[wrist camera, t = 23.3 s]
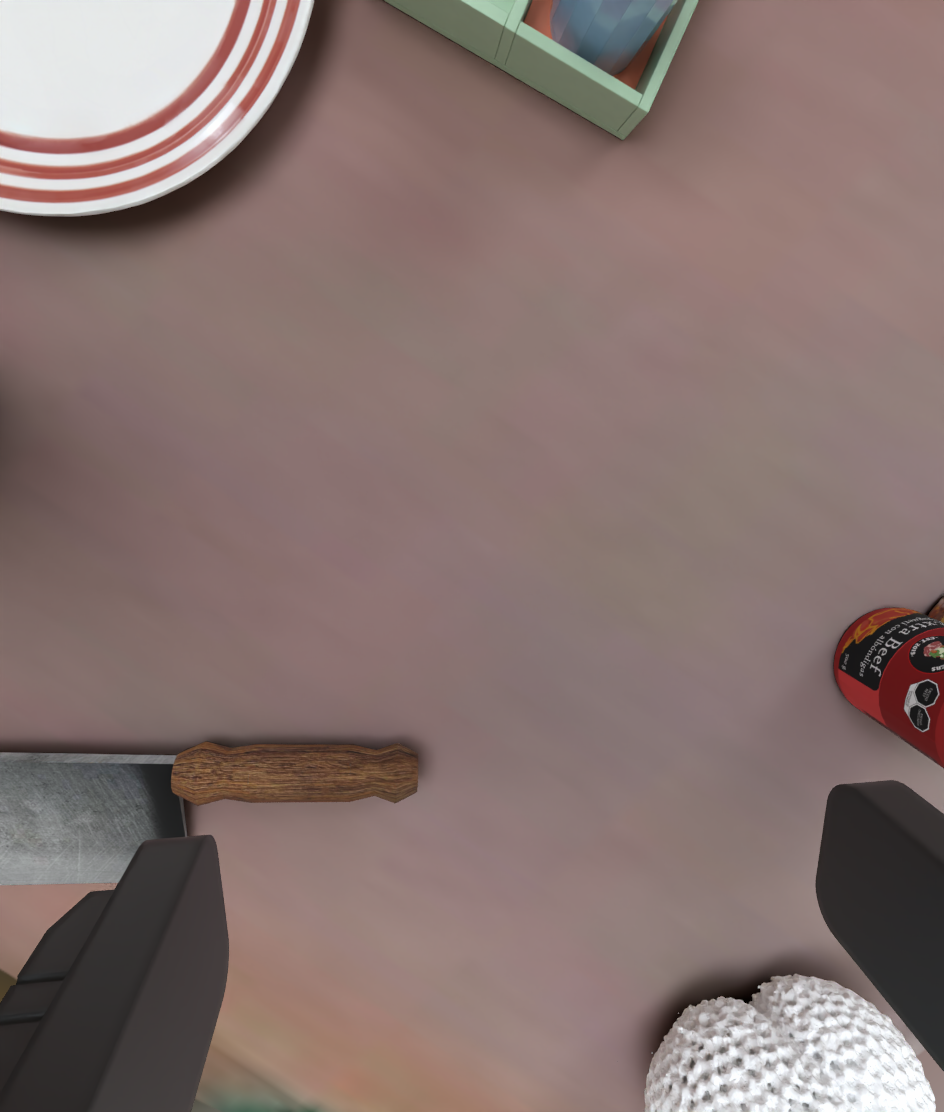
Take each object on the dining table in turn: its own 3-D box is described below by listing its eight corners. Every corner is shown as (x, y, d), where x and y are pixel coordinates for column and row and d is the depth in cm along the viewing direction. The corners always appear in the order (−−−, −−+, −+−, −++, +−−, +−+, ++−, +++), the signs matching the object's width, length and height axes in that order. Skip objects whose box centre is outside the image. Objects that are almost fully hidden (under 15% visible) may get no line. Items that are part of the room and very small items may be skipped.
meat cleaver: (-115, 889, 41) (-166, 941, 38) (-145, 730, 39) (-204, 768, 35) (410, 871, 46) (412, 915, 42) (417, 727, 43) (420, 760, 39)
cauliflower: (689, 1291, 47) (881, 1482, 32) (559, 1050, 50) (680, 1126, 36) (841, 1085, 56) (1043, 1164, 42) (721, 893, 60) (869, 905, 45)
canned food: (907, 583, 44) (1067, 642, 34) (946, 671, 46) (1108, 753, 36) (811, 642, 45) (940, 719, 34) (854, 727, 47) (987, 825, 36)
